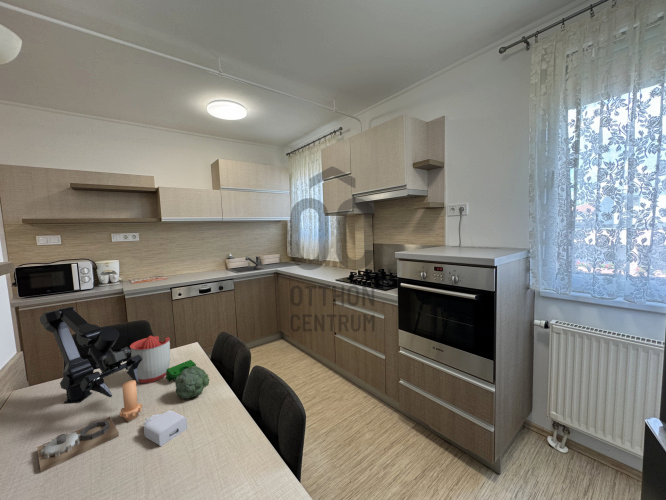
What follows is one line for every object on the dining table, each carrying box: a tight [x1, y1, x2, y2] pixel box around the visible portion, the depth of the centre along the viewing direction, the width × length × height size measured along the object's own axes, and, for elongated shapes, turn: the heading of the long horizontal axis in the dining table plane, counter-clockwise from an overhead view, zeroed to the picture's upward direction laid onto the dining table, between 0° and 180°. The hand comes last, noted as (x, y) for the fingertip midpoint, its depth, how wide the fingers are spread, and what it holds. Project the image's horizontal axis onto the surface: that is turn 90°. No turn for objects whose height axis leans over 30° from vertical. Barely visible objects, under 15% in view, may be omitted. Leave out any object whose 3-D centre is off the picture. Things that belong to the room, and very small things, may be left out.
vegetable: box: [174, 365, 210, 400], centre depth 116 cm, size 12×13×15 cm
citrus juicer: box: [129, 335, 171, 384], centre depth 131 cm, size 16×17×20 cm
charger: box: [143, 409, 188, 447], centre depth 95 cm, size 5×9×15 cm
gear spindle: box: [119, 379, 143, 422], centre depth 102 cm, size 7×7×13 cm
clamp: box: [165, 359, 197, 382], centre depth 129 cm, size 12×6×9 cm, turn 139°
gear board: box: [36, 416, 120, 473], centre depth 89 cm, size 18×12×5 cm, turn 140°
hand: (125, 389), depth 102 cm, fingers open, 9 cm apart
